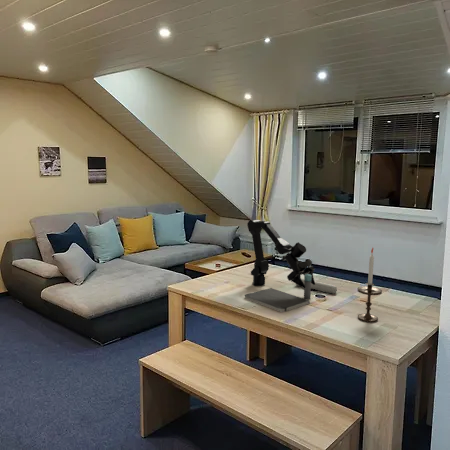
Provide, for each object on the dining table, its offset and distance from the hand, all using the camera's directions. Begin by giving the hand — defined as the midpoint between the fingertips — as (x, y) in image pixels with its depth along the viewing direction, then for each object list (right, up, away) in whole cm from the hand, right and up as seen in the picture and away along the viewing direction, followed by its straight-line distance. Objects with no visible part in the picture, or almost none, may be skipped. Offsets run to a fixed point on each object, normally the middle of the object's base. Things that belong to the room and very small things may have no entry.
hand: (309, 286), depth 227 cm
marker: (-1, -7, +2) cm, 7 cm away
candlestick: (+22, -12, -27) cm, 37 cm away
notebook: (-19, -8, -3) cm, 20 cm away
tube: (+8, -5, +18) cm, 20 cm away
